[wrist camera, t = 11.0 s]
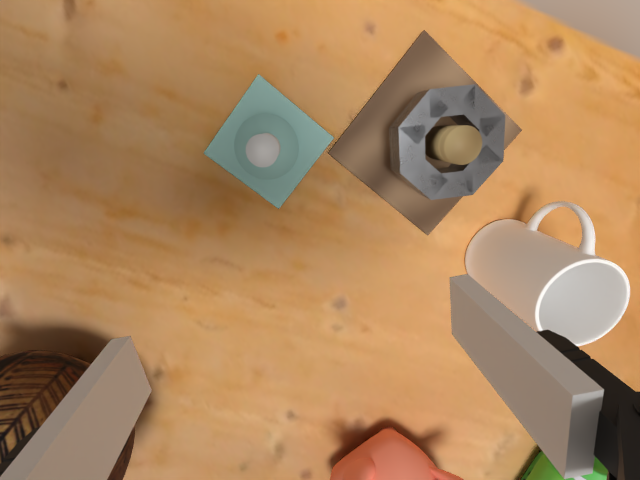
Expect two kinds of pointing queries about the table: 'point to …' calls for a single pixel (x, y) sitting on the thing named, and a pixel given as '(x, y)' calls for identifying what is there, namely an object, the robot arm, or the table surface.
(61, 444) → the robot arm
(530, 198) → the table surface
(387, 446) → the teapot
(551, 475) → the speaker
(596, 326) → the mug
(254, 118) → the stand
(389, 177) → the hub
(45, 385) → the vase
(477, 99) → the clutch ring
